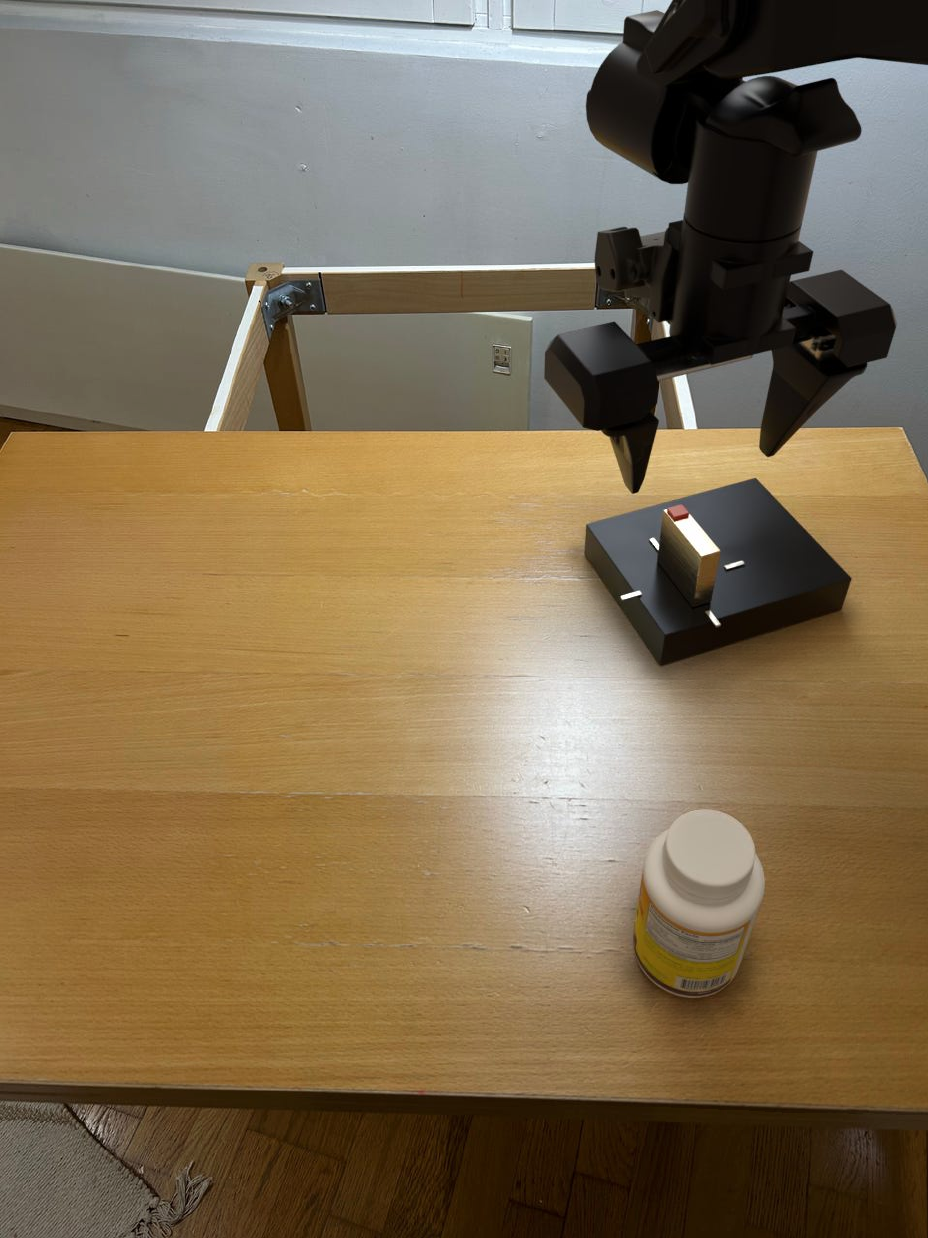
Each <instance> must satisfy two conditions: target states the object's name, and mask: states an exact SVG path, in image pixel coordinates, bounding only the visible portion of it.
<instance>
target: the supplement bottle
mask: <svg viewBox="0 0 928 1238" xmlns="http://www.w3.org/2000/svg"><path fill="white" fill-rule="evenodd" d="M762 865H763V864H762V863H761V860H760V859H759V856H758V855H757V853H756V846H755V842H754V840H753V838H752V835H751V834H750V832H749V831H748V829H747V828H746V827H745V826H744V825H743V824H742V823H741V822H740V821H739V820H737V819H736V818H734V817H733V816H731V815H730V814H727V813H725V812H722V811H718V810H714V809H708V808H707V809H705V808H704V809H703V808H701V809H695V810H691V811H690V810H689V811H687V812H685V813H683V814H682V815H680V816H678V817H677V818H676V819H675V820H674V821H673V822H672V823H671V825H670V827H668V828H667V829H666V830H664V831H662V832H661V833H660V834H659V835H658V836H657V837H656V838H655V839H653V841H652V843H651V844H650V845H649V847H648V849H647V851H646V854H645V858H644V862H643V865H642V873H641V879H640V887H639V893H638V899H637V905H636V913H635V920H634V925H633V934H632V947H633V952H634V956H635V958H636V961H637V963H638V965H639V967H640V969H641V970H642V972H643V973H644V974H645V976H646V977H647V978H648V979H649V980H650V981H651V982H652V983H653V984H655V986H657V987H659V988H660V989H662V990H663V991H665V992H667V993H668V994H672V995H674V996H678V997H682V998H686V999H687V998H688V999H699V998H705V997H710V996H712V995H715V994H717V993H719V992H721V991H722V990H723V989H725V988H726V987H727V986H729V984H730V983H731V982H732V981H733V980H734V978H735V977H736V975H737V973H738V971H739V969H740V966H741V964H742V961H743V958H744V955H745V952H746V950H747V946H748V944H749V941H750V937H751V934H752V932H753V928H754V926H755V922H756V919H757V917H758V914H759V911H760V908H761V905H762V902H763V899H764V895H765V891H766V890H765V889H766V880H765V879H766V878H765V872H764V869H763V866H762Z"/></svg>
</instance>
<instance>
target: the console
mask: <svg viewBox="0 0 928 1238" xmlns="http://www.w3.org/2000/svg"><path fill="white" fill-rule="evenodd" d="M681 504H682V505H683V506H684V507H685V508H686V509H687V511H688V512H689V514H690V515H691V516H692V517H693V518H694V520H695V521H696V522H697V523H698V524H699V526H700V527H701V528H702V529H703V530H704V532H705V533H706V534H707V535H708V536H709V538H710V539H711V540H712V541H713V542H714V543H715V545H716V546H717V547H718V548H719V549H720V551H721V553H720V558H719V563H718V568H717V574H716V579H715V584H714V589H713V595H712V600H711V602H709V603H706V604H702V605H699V606H696V607H692V606H691V605H690V603H689V602H688V601H687V599H686V598H685V597H684V596H683V594H682V593H681V592H680V590H679V589H678V588H677V586H676V585H675V584H674V582H673V581H672V580H671V578H670V577H669V576H668V574H667V573H666V572H665V570H664V569H663V568H662V567H661V565H660V564H659V563H658V561H657V556H658V548H659V540H660V533H661V525H662V517H663V510H665V509H667V508H670V507H673V506H677V505H681ZM584 535H585V536H584V540H585V541H584V550H583V551H584V552H583V553H584V554H583V555H584V557H585V558H586V560H587V561H588V563H589V564H590V565H591V567H592V569H593V570H594V571H595V573H596V574H597V575H598V577H599V578H600V580H601V582H602V583H603V585H604V586H605V587H606V589H607V590H608V592H609V594H611V596H612V598H613V599H614V601H615V602H616V604H617V605H618V606H619V608H620V609H621V611H622V613H623V614H624V615H625V616H626V618H627V619H628V621H629V622H630V624H631V625H632V627H633V629H634V630H635V631H636V633H637V635H638V636H639V637H640V638H641V640H642V642H643V643H644V644H645V646H646V648H647V649H648V650H649V651H650V653H651V654H652V656H653V657H654V659H655V660H656V662H657V663H658V665H659V666H660V667H662V666H665V665H669V664H673V663H676V662H679V661H681V660H685V659H687V658H688V659H689V658H691V657H694V656H698V655H700V654H704V653H708V652H710V651H714V650H717V649H720V648H723V647H726V646H730V645H733V644H737V643H739V642H742V641H747V640H749V639H752V638H755V637H759V636H762V635H765V634H767V633H768V634H769V633H771V632H774V631H777V630H781V629H784V628H788V627H790V626H793V625H796V624H800V623H803V622H806V621H809V620H812V619H816V618H819V617H823V616H825V615H828V614H832V613H835V612H839V611H842V609H843V606H844V604H845V600H846V598H847V594H848V593H849V588H850V585H851V582H852V579H853V578H852V577H851V575H850V574H849V573H847V572H846V570H845V569H844V568H843V567H842V566H841V565H840V564H839V563H838V562H837V561H836V559H835V558H833V557H832V555H830V554H829V553H828V551H827V550H826V549H825V548H824V547H823V546H822V545H821V544H820V543H819V542H818V541H817V540H816V539H815V538H814V537H813V536H812V535H811V533H809V532H808V530H806V528H805V527H804V526H803V525H802V524H801V523H800V522H799V521H798V520H797V519H796V518H795V516H793V515H792V514H791V513H790V511H788V510H787V509H786V508H785V507H784V506H783V504H782V503H780V501H779V500H778V499H777V498H776V497H775V496H774V495H773V494H772V493H771V492H770V491H769V490H768V489H767V487H765V485H764V484H762V482H760V480H759V479H758V478H757V477H753V478H750V479H746V480H742V481H738V482H735V483H731V484H728V485H727V484H726V485H723V486H720V487H717V488H713V489H709V490H705V491H701V492H698V493H694V494H690V495H687V496H684V497H679V498H677V499H673V500H668V501H665V502H661V503H658V504H654V505H651V506H648V507H643V508H640V509H636V510H632V511H629V512H626V513H621V514H618V515H614V516H611V517H607V518H603V519H600V520H596V521H592V522H589V523H586V524H585V534H584Z"/></svg>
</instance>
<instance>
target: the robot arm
mask: <svg viewBox="0 0 928 1238" xmlns="http://www.w3.org/2000/svg"><path fill="white" fill-rule="evenodd" d="M668 5H669V6H668V7H667V9H666V11H665V12H662V11H660V10H658V9H657V10H652V11H647V12H646V11H645V12H640V13H636V14H632V15H626V17H625V18H624V19H623V31H622V41H621V42H620V43H619V44H617V45H616V46H615V47H614V48H613V49H612V50H611V51H610V52H609V53H608V55H606V57H605V58H604V60H603V61H602V62H601V64H600V65H599V67H598V70H597V71H596V74H595V76H594V78H593V80H592V84H591V87H590V89H588V91H587V94H586V97H585V98H586V100H585V115H586V122H587V125H588V129H589V131H590V133H591V134H592V136H593V137H594V139H595V140H596V141H597V142H598V144H600V145H601V146H603V147H604V148H606V149H607V150H609V151H611V152H613V153H614V154H616V155H618V156H619V157H621V158H623V159H625V161H628V162H630V164H633V165H635V166H636V167H638V168H640V169H641V170H643V171H645V172H647V173H648V174H650V175H651V176H653V177H655V178H656V179H658V180H660V181H662V182H664V183H667V184H669V185H684V184H687V188H686V195H685V196H686V197H685V203H684V211H683V217H682V218H683V219H681V220H677V221H676V220H675V221H672V222H671V221H670V222H668V227H667V228H666V229H665V230H664V231H660V232H656V233H651V234H646V235H645V234H644V235H641V234H640V230H639V229H638V228H637V227H629V228H628V227H627V226H619V227H615V228H610V229H606V230H601V231H597V232H596V233H597V234H596V242H595V250H594V260H593V261H594V270H595V271H594V272H595V280H596V283H597V285H598V287H599V288H600V289H601V290H603V291H608V292H612V293H620V292H624V298H625V299H628V300H632V299H634V298H639V299H643V300H647V301H648V309H647V313H648V314H649V315H650V316H651V318H652V319H653V320H654V321H656V322H657V323H663V322H666V323H667V324H668V325H669V328H668V329H669V330H668V334H669V336H665V337H661V338H657V339H652V340H649V341H643V342H639V343H636V342H635V341H634V340H633V339H632V337H630V336H629V334H627V332H625V331H624V329H622V327H620V325H619V324H618V323H617V322H616V321H610V322H606V323H600V324H596V325H593V326H588V327H585V328H579V329H575V330H571V331H567V332H566V331H565V332H562V333H558V334H556V335H555V336H554V338H552V339H551V340H550V342H549V343H548V345H547V347H546V349H545V351H544V372H543V373H544V375H543V376H544V377H543V378H544V380H545V381H546V383H548V385H549V386H550V388H551V389H552V390H553V391H554V393H555V394H556V395H557V396H558V398H559V399H560V400H561V402H562V403H563V404H564V405H565V407H566V408H567V409H568V410H569V412H570V413H571V415H572V416H573V417H574V418H575V419H576V421H577V422H578V423H579V424H580V426H581V427H582V428H583V429H587V430H592V431H595V432H601V433H602V434H603V435H604V436H605V437H609V441H610V444H611V447H612V450H613V452H614V456H615V459H616V462H617V465H618V468H619V472H620V474H621V477H622V480H623V483H624V485H625V487H626V488H627V490H628V491H629V492H630V494H632V495H635V494H638V493H639V492H640V490H641V487H642V485H643V483H644V481H645V479H646V475H647V471H648V467H649V463H650V458H651V454H652V451H653V447H654V442H655V439H656V436H657V431H658V427H659V425H660V424H659V423H660V419H658V418H657V416H656V415H655V413H653V412H652V410H653V409H654V408H655V407H656V406H657V405H658V401H659V393H660V392H659V391H660V383H659V382H661V381H665V380H669V379H672V378H677V377H680V376H685V375H689V374H693V373H697V372H701V371H705V370H710V369H713V368H714V369H715V368H719V367H722V366H725V365H729V364H734V363H738V362H742V361H746V360H750V359H752V358H753V357H754V355H758V354H762V353H766V352H770V351H771V356H772V371H771V375H770V381H769V385H768V389H767V394H766V400H765V405H764V409H763V413H762V418H761V424H760V430H759V431H760V432H759V442H758V443H759V444H758V448H759V451H760V452H761V453H762V454H763V455H764V456H765V457H767V458H771V457H774V456H775V455H776V454H778V452H779V451H780V450H781V449H782V448H783V447H784V446H785V445H786V444H787V443H788V441H790V439H791V438H792V437H793V436H794V435H795V434H796V433H797V432H798V431H799V430H800V429H801V428H802V427H803V426H804V425H805V424H806V423H807V422H808V421H809V420H810V418H812V416H814V414H815V413H816V412H817V411H818V410H820V408H822V407H823V406H824V405H825V404H826V403H827V402H828V401H829V400H830V399H831V398H833V396H834V395H835V394H836V393H837V392H839V391H840V390H841V389H842V388H843V387H844V386H845V385H846V384H847V383H849V382H850V380H852V379H853V378H855V377H857V376H861V375H863V374H864V373H865V372H866V370H867V368H868V363H871V362H875V361H879V360H883V359H887V358H888V355H889V352H890V350H891V345H892V342H893V339H894V336H895V333H896V329H897V326H898V322H897V319H896V316H895V311H894V308H893V307H892V305H891V304H890V303H889V302H888V301H887V300H885V299H883V298H882V297H881V296H879V295H878V294H877V293H875V292H874V291H873V290H871V289H870V288H868V287H867V286H865V285H864V284H863V283H861V282H860V281H859V280H857V279H856V278H854V277H853V276H852V275H850V274H849V273H848V272H847V271H844V269H837V270H833V271H829V272H825V273H820V274H816V275H812V276H811V275H810V276H807V277H803V278H798V279H793V280H791V277H792V276H793V275H797V274H802V273H807V272H810V269H811V265H812V260H813V257H814V256H813V255H814V250H812V249H811V248H810V247H808V246H807V245H806V244H804V243H803V242H801V241H800V236H801V231H802V226H803V221H804V218H805V217H804V216H805V212H806V207H807V203H808V199H809V193H810V189H811V185H812V184H811V183H812V179H813V174H814V170H815V165H816V160H817V156H818V152H820V151H823V150H826V149H831V148H834V147H838V146H841V145H845V144H848V143H852V142H855V141H858V139H860V137H861V136H862V133H863V132H862V131H863V129H862V125H861V123H860V121H859V119H858V117H857V114H856V112H855V111H854V109H853V108H852V107H851V106H850V105H849V104H848V103H846V101H845V99H844V98H843V97H842V94H841V92H840V90H839V89H840V88H839V85H838V81H837V80H836V79H835V78H834V77H827V78H824V79H820V80H816V81H812V82H808V83H804V84H800V85H798V84H796V83H793V82H790V81H788V80H786V79H783V78H781V77H778V76H775V75H768V74H774V73H779V72H785V71H791V70H796V69H801V68H806V67H811V66H817V65H822V64H827V63H833V62H834V63H835V62H838V61H840V62H841V61H846V60H852V59H867V60H876V61H883V62H884V61H885V62H895V63H903V64H904V63H905V64H913V65H923V66H928V0H671V2H670V4H668ZM760 75H761V76H760ZM755 76H758V77H755ZM747 77H748V78H749V77H754V78H751V79H749V80H746V81H745V80H744V79H743V78H747Z"/></svg>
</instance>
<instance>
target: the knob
mask: <svg viewBox="0 0 928 1238" xmlns="http://www.w3.org/2000/svg"><path fill="white" fill-rule="evenodd" d="M720 553H721V551H720V549H719V548H718V547H717V546H716V545H715V543H714V542H713V541H712V540H711V539H710V538H709V536H708V535H707V534H706V533H705V532H704V530H703V529H702V528H701V527H700V526H699V524H698V523H697V522H696V521H695V520H694V518H693V517H692V516H691V515H690V514H689V512H688V511H687V509H686V508H685V507H684V506H683V505H682V504H681V505H677V506H673V507H670V508H667V509H665V510H663V517H662V525H661V533H660V540H659V548H658V556H657V561H658V563H659V564H660V565H661V567H662V568H663V569H664V570H665V572H666V573H667V574H668V576H669V577H670V578H671V580H672V581H673V582H674V584H675V585H676V586H677V588H678V589H679V590H680V592H681V593H682V594H683V596H684V597H685V598H686V599H687V601H688V602H689V603H690V605H691V606H692V607H696V606H699V605H702V604H706V603H709V602H711V600H712V595H713V589H714V584H715V579H716V574H717V568H718V563H719V558H720Z"/></svg>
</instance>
